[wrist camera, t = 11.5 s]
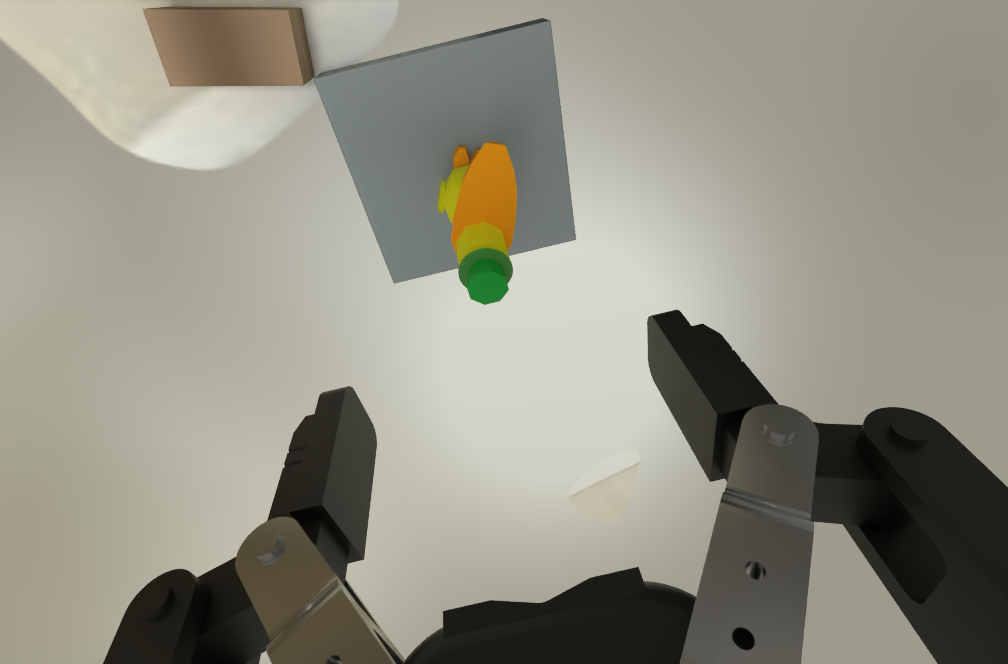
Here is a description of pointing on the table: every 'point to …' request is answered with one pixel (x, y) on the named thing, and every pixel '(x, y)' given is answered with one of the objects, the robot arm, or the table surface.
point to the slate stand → (452, 138)
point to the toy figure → (482, 218)
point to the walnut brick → (231, 45)
